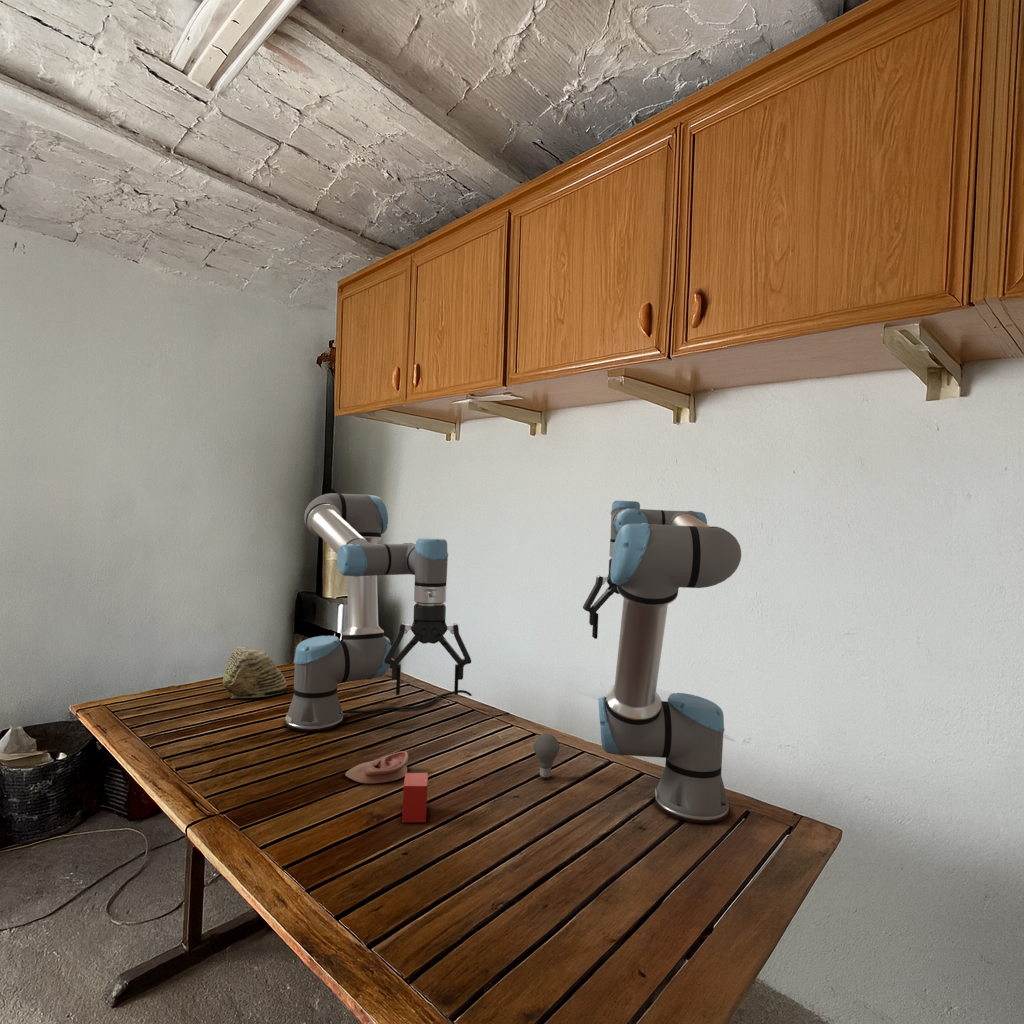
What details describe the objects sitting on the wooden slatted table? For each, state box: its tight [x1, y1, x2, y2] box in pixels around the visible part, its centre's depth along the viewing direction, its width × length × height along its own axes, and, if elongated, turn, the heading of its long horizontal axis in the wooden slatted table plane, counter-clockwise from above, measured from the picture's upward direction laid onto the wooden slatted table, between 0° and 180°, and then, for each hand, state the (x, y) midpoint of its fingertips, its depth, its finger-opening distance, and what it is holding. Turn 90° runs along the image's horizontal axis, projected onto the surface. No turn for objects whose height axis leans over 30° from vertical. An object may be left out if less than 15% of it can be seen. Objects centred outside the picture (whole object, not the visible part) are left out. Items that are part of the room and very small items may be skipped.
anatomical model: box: [344, 750, 409, 784], centre depth 146 cm, size 13×4×12 cm
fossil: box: [222, 646, 288, 699], centre depth 198 cm, size 9×18×15 cm, turn 132°
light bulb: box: [533, 732, 560, 778], centre depth 148 cm, size 6×6×10 cm
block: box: [401, 772, 429, 823], centre depth 128 cm, size 5×6×7 cm
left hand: (427, 693), depth 149 cm, fingers open, 13 cm apart
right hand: (619, 638), depth 169 cm, fingers open, 13 cm apart
